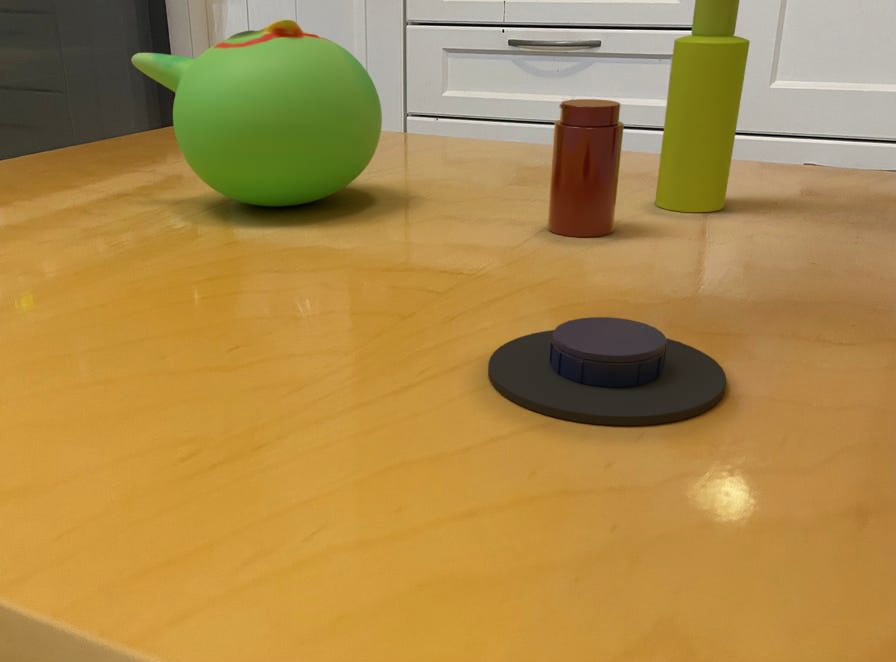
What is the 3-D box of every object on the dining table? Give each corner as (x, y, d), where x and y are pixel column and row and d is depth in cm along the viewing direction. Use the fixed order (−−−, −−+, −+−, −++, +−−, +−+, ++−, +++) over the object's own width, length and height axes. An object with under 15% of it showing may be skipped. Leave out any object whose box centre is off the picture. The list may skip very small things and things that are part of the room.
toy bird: (259, 237, 73) (242, 26, 66) (141, 203, 83) (114, 18, 76) (419, 200, 84) (419, 16, 77) (298, 174, 94) (288, 10, 87)
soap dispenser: (747, 207, 82) (792, -60, 72) (684, 215, 79) (721, -61, 69) (702, 194, 86) (738, -59, 76) (641, 201, 84) (670, -59, 74)
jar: (593, 219, 78) (604, 97, 73) (625, 234, 74) (639, 105, 69) (536, 224, 77) (544, 100, 72) (565, 239, 72) (575, 108, 68)
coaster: (672, 331, 54) (673, 322, 54) (767, 417, 44) (769, 408, 44) (468, 341, 53) (468, 332, 53) (517, 433, 43) (518, 423, 42)
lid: (568, 391, 46) (571, 358, 45) (538, 350, 50) (540, 319, 50) (679, 384, 46) (684, 352, 45) (639, 344, 51) (642, 314, 50)
